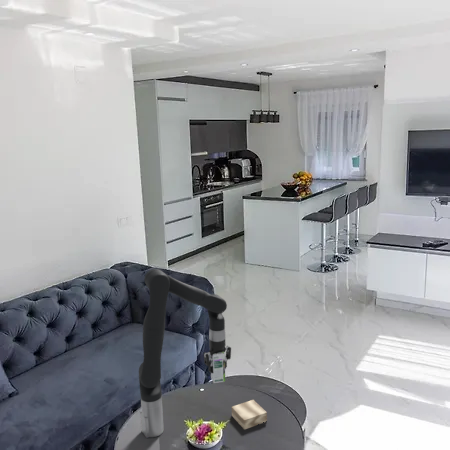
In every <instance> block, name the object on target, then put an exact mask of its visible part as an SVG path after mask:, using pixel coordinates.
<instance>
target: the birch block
mask: <svg viewBox="0 0 450 450" xmlns="http://www.w3.org/2000/svg"><path fill="white" fill-rule="evenodd" d="M231 417H232V418H233V419H234V420H235V421H236V422H237V423H238V425H240V426H241V427H242V429H243V430H245V431H246V430H247V429H250V428H253V427H256V426H258V424H259V425H261V424H264V423H267V422H268V413H267V411H266V410H265V409H264V408H263V406H261V405H260V404H259V403H257V401H255V399H251V400H249V401H245V402H242V403H239V404H235V405H233V406H231ZM266 421H267V422H266ZM263 422H264V423H263Z"/></svg>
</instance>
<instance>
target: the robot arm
mask: <svg viewBox="0 0 450 450" xmlns="http://www.w3.org/2000/svg"><path fill="white" fill-rule="evenodd" d="M144 283H145V286H146V287H147V289H148V290H149V305H148V308H147V311H146V314H145V316H144V319H143V323H142V325H143V327H142V350H143V361H142V363H141V364H140V365H139V366H138V367H139V368H138V379H139V381H138V382H139V392H140V393H139V394H140V406H141V411H140V412H139V415H140V425H141V426H140V428H141V431H140V432H142V434H143V435H144V436H145V438H156V437H158V436H161V435H162V434H163V432H164V413H163V398H162V397H163V396H162V395H163V393H162V386H161V385H162V384H161V379H162V371H161V370H162V369H161V368H162V367H161V363H162V362H161V361H162V359H161V358H162V350H163V345H164V339H165V329H166V313H167V309H166V308H167V301H168V295H169V293H170V294H173V295H175V296H176V297H179V298H180V299H182V300H184V301H187V302H189V303H191V304H193V305H197V306H200V307H202V308H204V309H206V310H207V313H208V319H209V331H208V332H209V333H208V334H209V335H208V338H209V339H208V341H209V342H208V343H209V344H208V345H209V346H208V347H209V351H208V352H203V362H204V364H205V365H206V367H208V372H209V373H210V374H211V373H213V359H212V357H213V354H215V353H216V354H218V352H223V351H224V353H225V370H226V369H227V367H228V363H227V362H228V360H231V358H232V356H231V355H232V347H230V345H226V326H225V324H226V323H225V321H226V320H225V317H224V315H223V313H224V312H225V311H226V310H227V309H228V308H227V307H228V304H227V301H226V300H225V299H224V298H222V297H221V296H220V295H218V294H214V293H213V294H211V293H210V292H208V291H205V290H203V289H200V288H198V287H196V286H193V285H190V284H187V283H185V282H182V281H180V280H178V279H176V278H174V277H172V276H170V275H169V274H167V273H165V272H164V271H163V270H161V269H156V268H154V269H149V271H147V272H146V274H145V275H144Z"/></svg>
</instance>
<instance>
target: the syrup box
mask: <svg viewBox="0 0 450 450" xmlns="http://www.w3.org/2000/svg"><path fill="white" fill-rule="evenodd" d="M225 356H226V352H224V351H223V352H218V354H216V353H215V354H213V357H212V359H213V373H210V378H211V380H212V383H213V384H218V383H225V382H226V369H225Z"/></svg>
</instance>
